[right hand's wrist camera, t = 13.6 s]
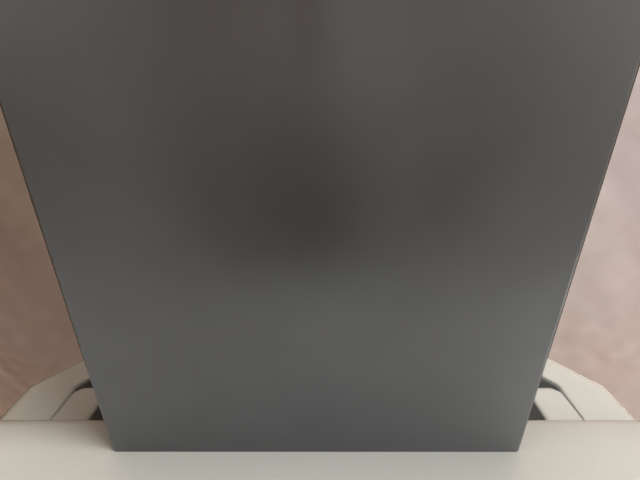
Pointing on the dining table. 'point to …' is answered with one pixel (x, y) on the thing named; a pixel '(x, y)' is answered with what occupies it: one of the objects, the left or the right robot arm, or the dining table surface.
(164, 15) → the bar
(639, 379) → the dining table surface
